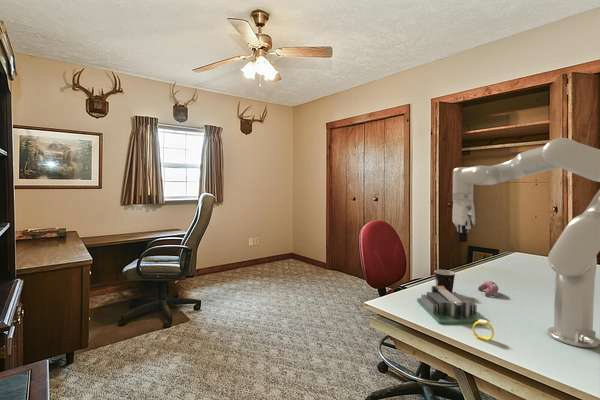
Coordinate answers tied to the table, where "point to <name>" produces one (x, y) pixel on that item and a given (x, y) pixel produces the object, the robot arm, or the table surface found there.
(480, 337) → the watch
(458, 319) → the heat sink base
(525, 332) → the table surface
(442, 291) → the steel strap
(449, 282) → the coffee mug
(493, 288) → the video game controller
